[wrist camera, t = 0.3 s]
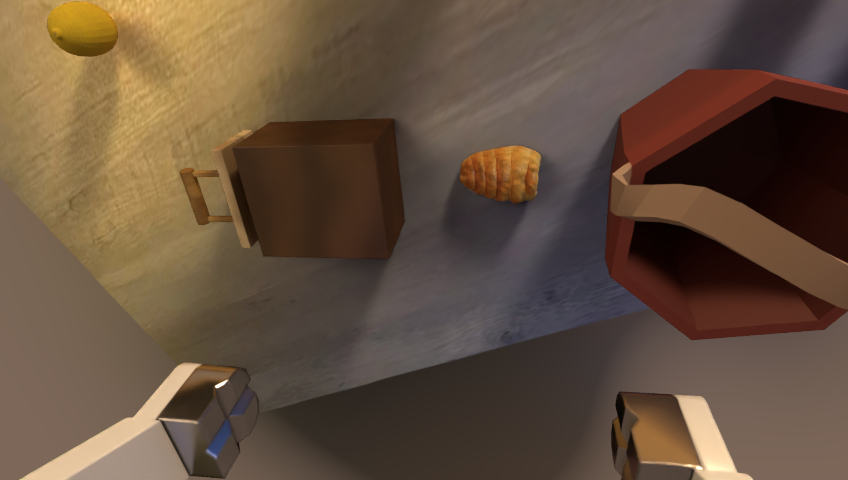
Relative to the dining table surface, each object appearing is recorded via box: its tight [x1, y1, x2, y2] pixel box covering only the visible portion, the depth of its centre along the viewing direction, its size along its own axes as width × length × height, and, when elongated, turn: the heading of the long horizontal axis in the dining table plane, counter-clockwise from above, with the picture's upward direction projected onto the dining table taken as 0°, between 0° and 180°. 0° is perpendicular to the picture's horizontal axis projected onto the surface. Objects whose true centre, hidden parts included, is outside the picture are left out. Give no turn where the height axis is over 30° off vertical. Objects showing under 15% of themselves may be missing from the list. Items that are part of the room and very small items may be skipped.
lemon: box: [47, 1, 118, 57], centre depth 53 cm, size 6×6×8 cm
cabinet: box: [232, 118, 405, 259], centre depth 57 cm, size 16×14×9 cm
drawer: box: [179, 130, 258, 248], centre depth 58 cm, size 20×13×7 cm, turn 94°
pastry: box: [460, 146, 542, 204], centre depth 55 cm, size 9×7×4 cm
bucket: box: [605, 69, 848, 340], centre depth 41 cm, size 24×22×25 cm
